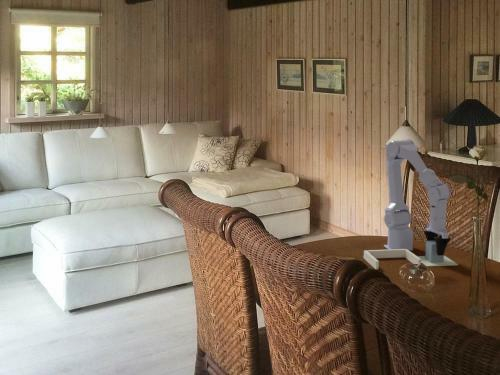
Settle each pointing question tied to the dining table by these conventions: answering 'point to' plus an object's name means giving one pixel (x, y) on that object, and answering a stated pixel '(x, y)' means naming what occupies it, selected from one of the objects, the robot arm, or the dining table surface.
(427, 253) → the block
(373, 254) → the grey u-shaped bracket
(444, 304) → the dining table surface
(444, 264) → the mat
